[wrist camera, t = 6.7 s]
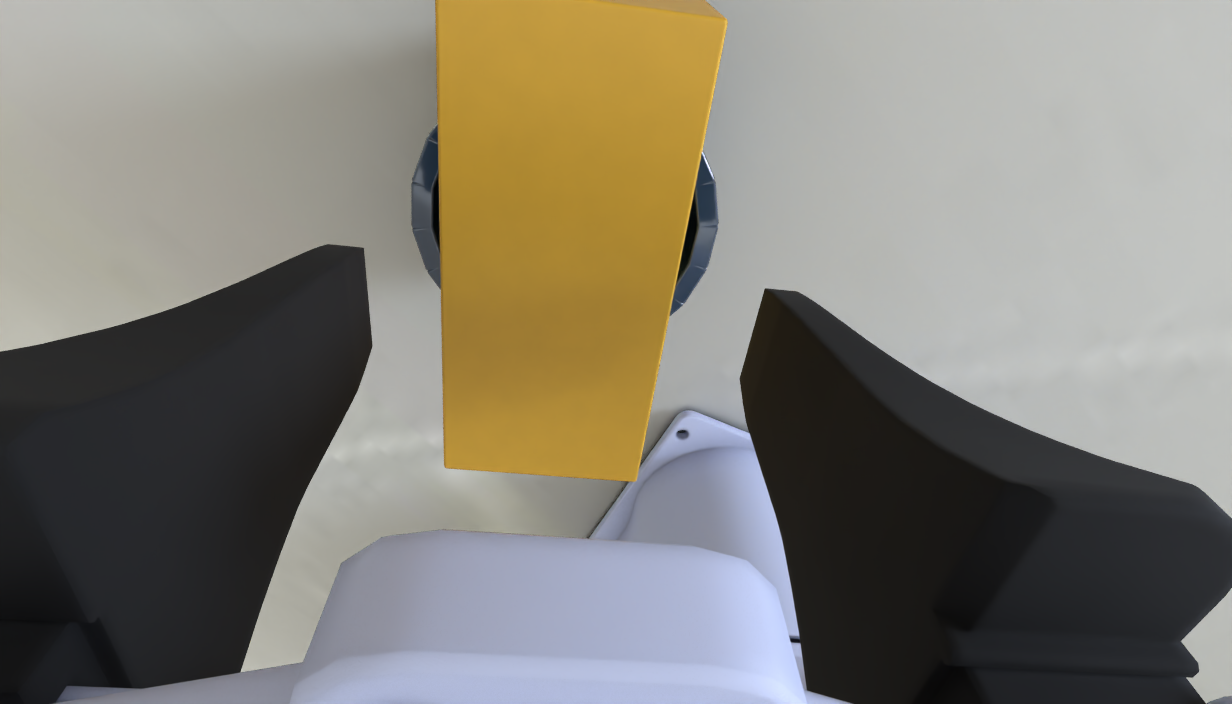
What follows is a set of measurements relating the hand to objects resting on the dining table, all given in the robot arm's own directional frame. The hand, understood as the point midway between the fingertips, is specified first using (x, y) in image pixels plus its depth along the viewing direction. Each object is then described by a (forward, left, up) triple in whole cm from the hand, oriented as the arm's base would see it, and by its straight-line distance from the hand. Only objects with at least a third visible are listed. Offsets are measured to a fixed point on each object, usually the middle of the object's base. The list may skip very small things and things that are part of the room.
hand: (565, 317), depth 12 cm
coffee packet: (0, 0, -4) cm, 4 cm away
